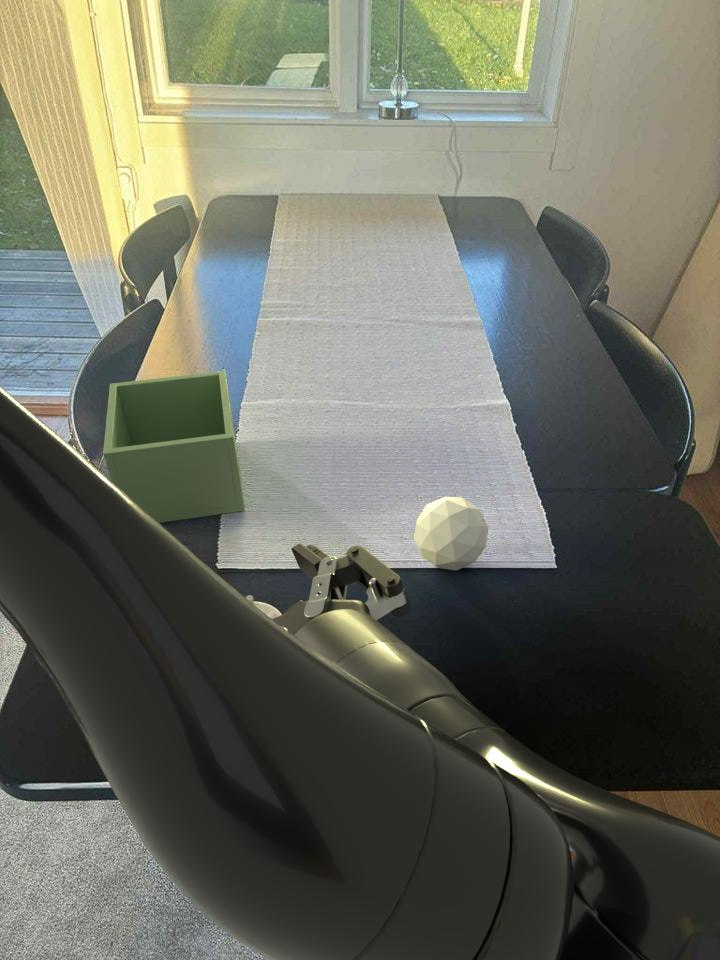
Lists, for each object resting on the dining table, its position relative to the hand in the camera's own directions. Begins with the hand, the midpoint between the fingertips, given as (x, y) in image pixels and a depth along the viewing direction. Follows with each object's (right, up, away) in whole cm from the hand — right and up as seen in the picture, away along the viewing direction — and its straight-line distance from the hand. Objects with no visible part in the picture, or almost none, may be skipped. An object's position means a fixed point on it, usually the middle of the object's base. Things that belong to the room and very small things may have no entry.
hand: (248, 587), depth 49 cm
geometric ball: (+18, -1, +28) cm, 33 cm away
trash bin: (-14, +7, +38) cm, 41 cm away
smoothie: (-1, -12, +15) cm, 20 cm away
